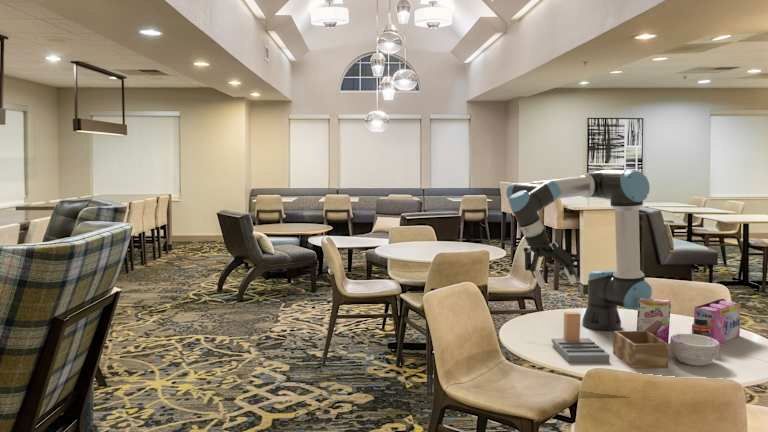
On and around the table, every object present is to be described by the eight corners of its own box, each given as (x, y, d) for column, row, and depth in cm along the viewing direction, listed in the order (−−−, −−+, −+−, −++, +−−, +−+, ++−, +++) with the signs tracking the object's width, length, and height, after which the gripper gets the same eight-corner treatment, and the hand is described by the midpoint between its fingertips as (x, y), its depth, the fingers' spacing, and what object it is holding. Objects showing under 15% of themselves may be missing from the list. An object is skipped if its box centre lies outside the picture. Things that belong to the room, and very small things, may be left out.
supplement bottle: (712, 349, 232) (714, 319, 231) (702, 352, 229) (704, 321, 228) (697, 345, 237) (698, 315, 236) (687, 348, 234) (688, 317, 233)
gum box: (720, 331, 257) (722, 298, 256) (741, 335, 251) (743, 301, 250) (692, 341, 242) (693, 306, 241) (713, 346, 236) (715, 310, 235)
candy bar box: (636, 343, 240) (638, 300, 239) (635, 339, 245) (637, 297, 243) (669, 346, 237) (671, 302, 235) (667, 342, 241) (669, 299, 240)
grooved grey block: (551, 345, 237) (552, 312, 236) (588, 344, 238) (589, 311, 237) (568, 362, 217) (569, 326, 216) (609, 362, 218) (610, 326, 217)
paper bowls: (728, 368, 212) (729, 345, 211) (684, 369, 211) (685, 346, 210) (702, 354, 227) (703, 332, 226) (660, 355, 226) (661, 333, 225)
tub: (612, 353, 228) (613, 331, 227) (645, 352, 228) (646, 330, 228) (632, 368, 212) (633, 344, 211) (667, 367, 212) (669, 344, 212)
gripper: (501, 242, 234) (525, 291, 238) (558, 233, 215) (582, 287, 219) (512, 232, 239) (535, 280, 243) (569, 222, 219) (592, 275, 223)
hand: (558, 284), depth 231 cm, fingers open, 13 cm apart
